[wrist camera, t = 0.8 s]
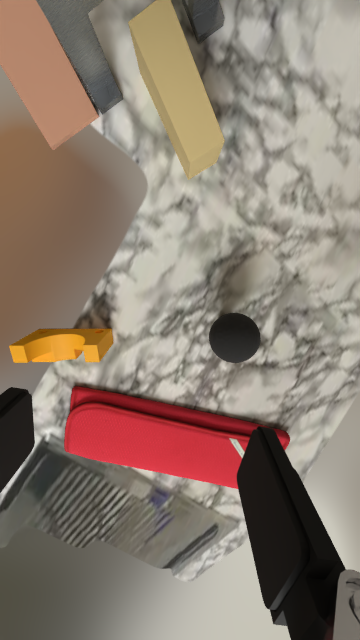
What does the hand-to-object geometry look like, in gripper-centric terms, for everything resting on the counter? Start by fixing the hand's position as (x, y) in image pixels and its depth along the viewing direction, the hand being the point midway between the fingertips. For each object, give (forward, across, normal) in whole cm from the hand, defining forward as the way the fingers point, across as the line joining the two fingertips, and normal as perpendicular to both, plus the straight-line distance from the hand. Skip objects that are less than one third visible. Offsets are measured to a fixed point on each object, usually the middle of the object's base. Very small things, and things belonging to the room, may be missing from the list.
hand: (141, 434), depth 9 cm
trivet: (+25, +20, -24) cm, 40 cm away
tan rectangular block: (+26, +3, -22) cm, 34 cm away
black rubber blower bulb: (+26, -9, +2) cm, 27 cm away
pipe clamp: (+26, +15, +10) cm, 31 cm away
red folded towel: (+26, -5, +28) cm, 38 cm away
